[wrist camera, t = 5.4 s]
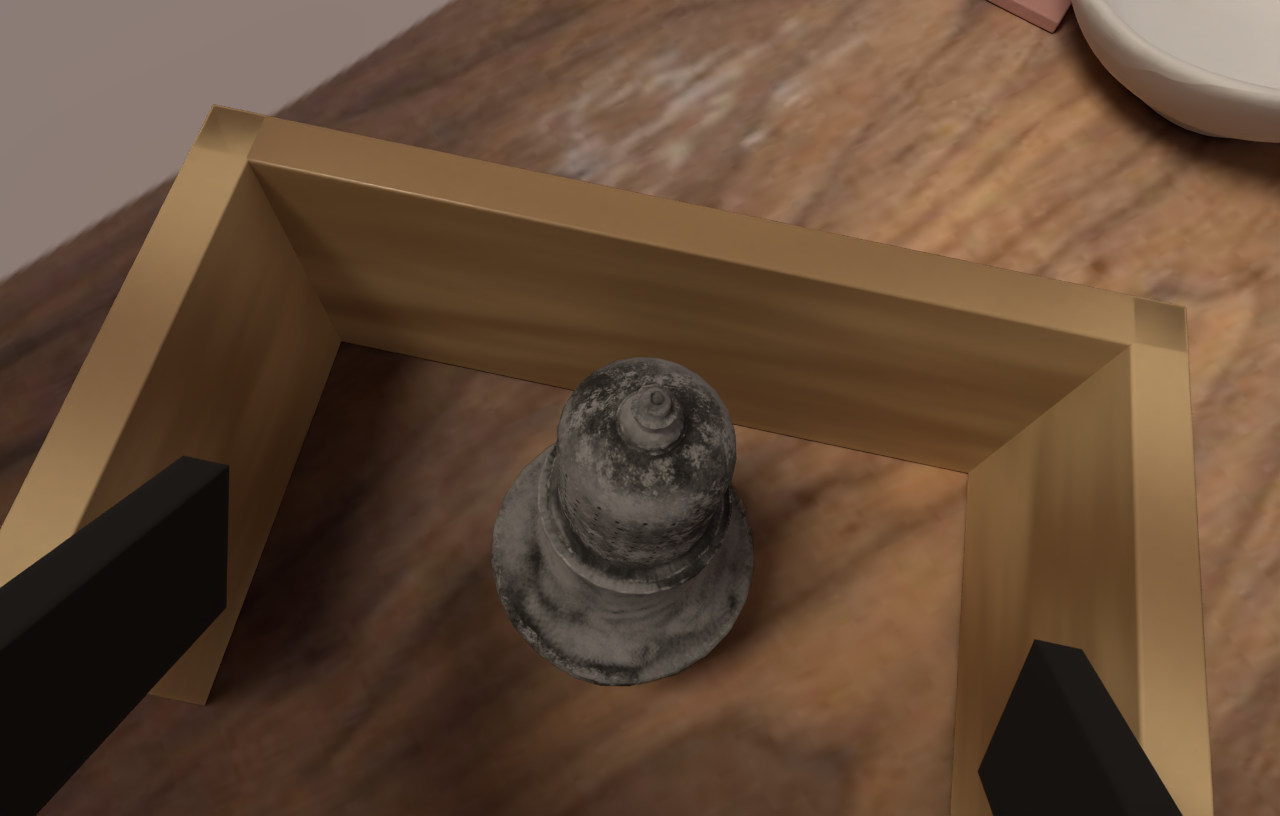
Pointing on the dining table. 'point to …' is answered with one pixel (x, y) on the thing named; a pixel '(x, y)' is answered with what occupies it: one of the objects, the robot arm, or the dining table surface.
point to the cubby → (677, 332)
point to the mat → (1037, 11)
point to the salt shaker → (628, 529)
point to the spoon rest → (1194, 60)
